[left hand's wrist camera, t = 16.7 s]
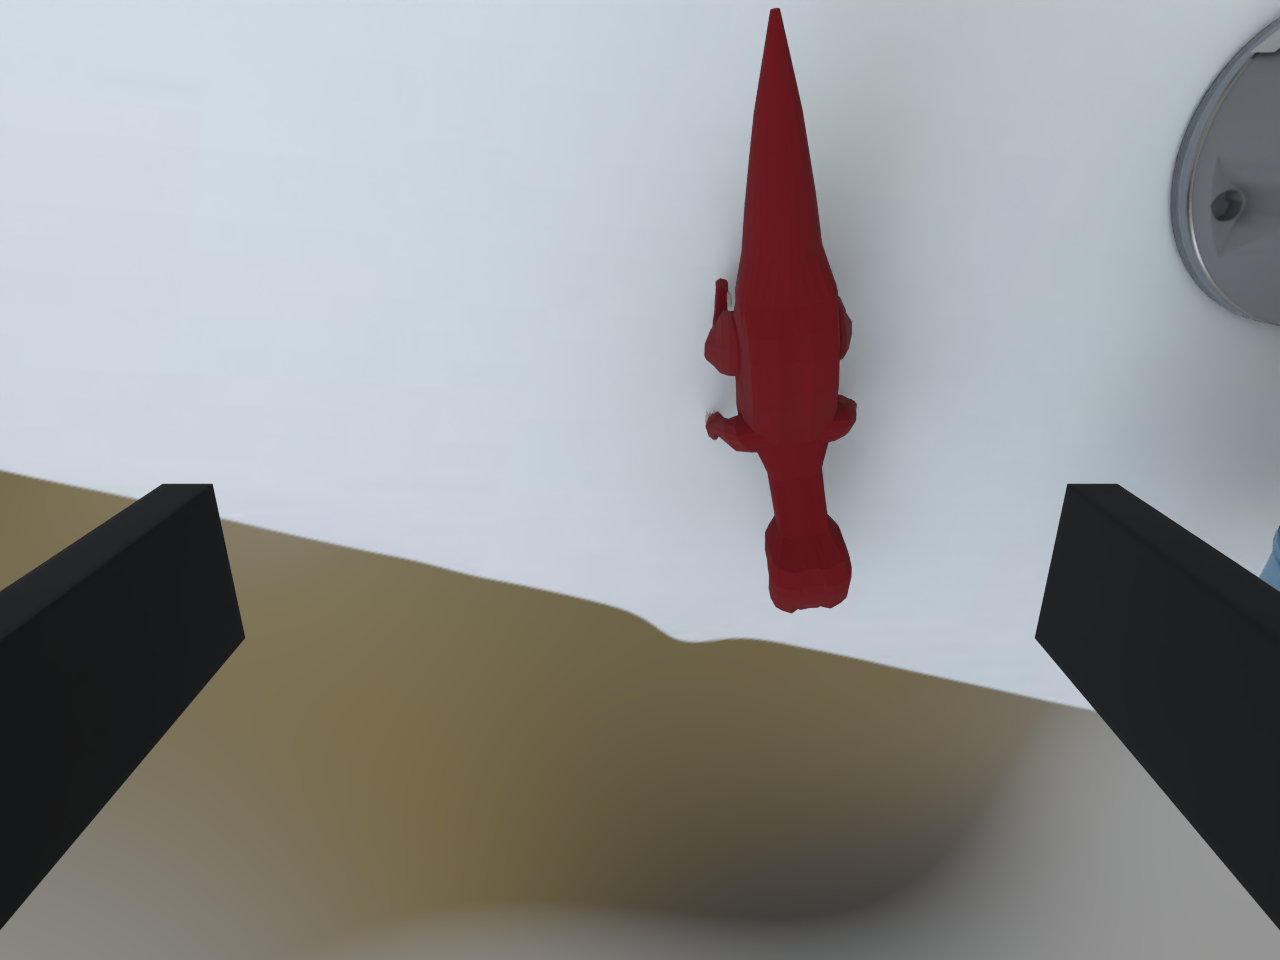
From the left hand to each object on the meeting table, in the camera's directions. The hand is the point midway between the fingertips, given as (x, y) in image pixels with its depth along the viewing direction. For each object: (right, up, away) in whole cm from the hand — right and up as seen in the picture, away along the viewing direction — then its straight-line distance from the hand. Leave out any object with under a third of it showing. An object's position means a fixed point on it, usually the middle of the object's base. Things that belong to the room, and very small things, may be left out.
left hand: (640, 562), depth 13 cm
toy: (+6, +9, +29) cm, 31 cm away
